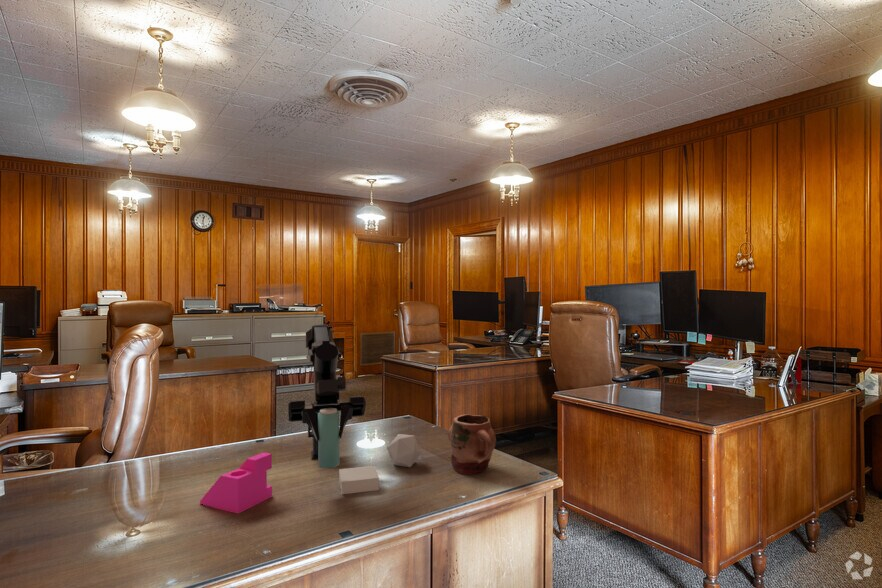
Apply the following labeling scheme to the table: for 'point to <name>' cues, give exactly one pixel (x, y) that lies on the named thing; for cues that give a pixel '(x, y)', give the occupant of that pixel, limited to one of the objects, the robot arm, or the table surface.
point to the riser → (358, 479)
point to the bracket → (241, 486)
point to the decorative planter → (471, 443)
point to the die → (404, 450)
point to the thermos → (328, 438)
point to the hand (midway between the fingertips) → (329, 438)
